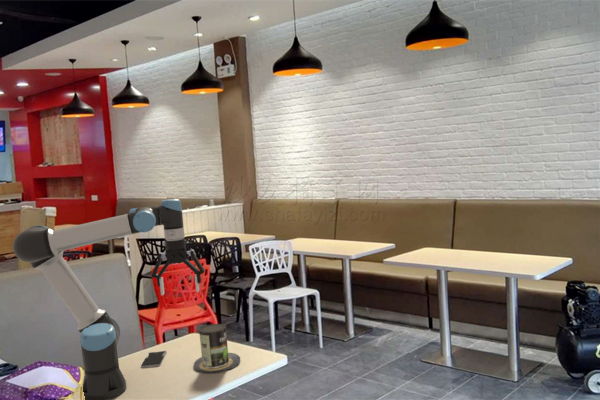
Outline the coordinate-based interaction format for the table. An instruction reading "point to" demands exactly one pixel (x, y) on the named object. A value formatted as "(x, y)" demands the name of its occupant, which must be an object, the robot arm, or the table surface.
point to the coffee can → (214, 346)
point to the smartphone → (154, 359)
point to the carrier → (233, 362)
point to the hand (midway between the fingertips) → (180, 293)
